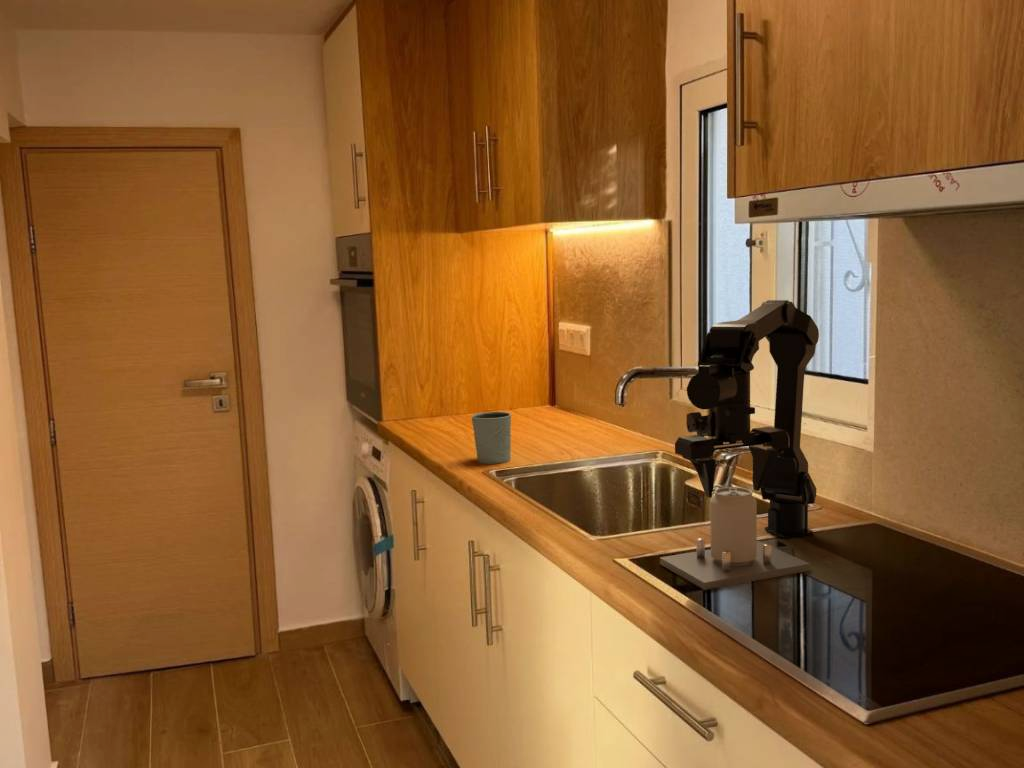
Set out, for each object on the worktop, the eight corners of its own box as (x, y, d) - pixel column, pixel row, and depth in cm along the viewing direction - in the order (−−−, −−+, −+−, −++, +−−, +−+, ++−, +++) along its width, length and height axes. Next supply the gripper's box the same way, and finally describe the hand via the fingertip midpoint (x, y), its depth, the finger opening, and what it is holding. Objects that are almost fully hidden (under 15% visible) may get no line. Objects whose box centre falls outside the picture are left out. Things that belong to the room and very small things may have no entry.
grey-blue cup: (516, 462, 249) (514, 416, 247) (477, 466, 247) (475, 419, 245) (508, 454, 258) (506, 410, 257) (470, 458, 256) (468, 413, 255)
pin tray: (759, 547, 173) (759, 523, 173) (809, 570, 160) (809, 544, 160) (660, 564, 166) (659, 539, 166) (704, 590, 153) (704, 563, 153)
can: (711, 567, 160) (711, 495, 158) (709, 553, 167) (709, 484, 166) (758, 568, 159) (758, 496, 157) (754, 553, 166) (754, 484, 165)
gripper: (751, 389, 170) (751, 477, 172) (657, 399, 163) (658, 490, 166) (791, 397, 160) (791, 490, 162) (692, 408, 153) (693, 505, 155)
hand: (732, 493), depth 161 cm, fingers open, 9 cm apart
